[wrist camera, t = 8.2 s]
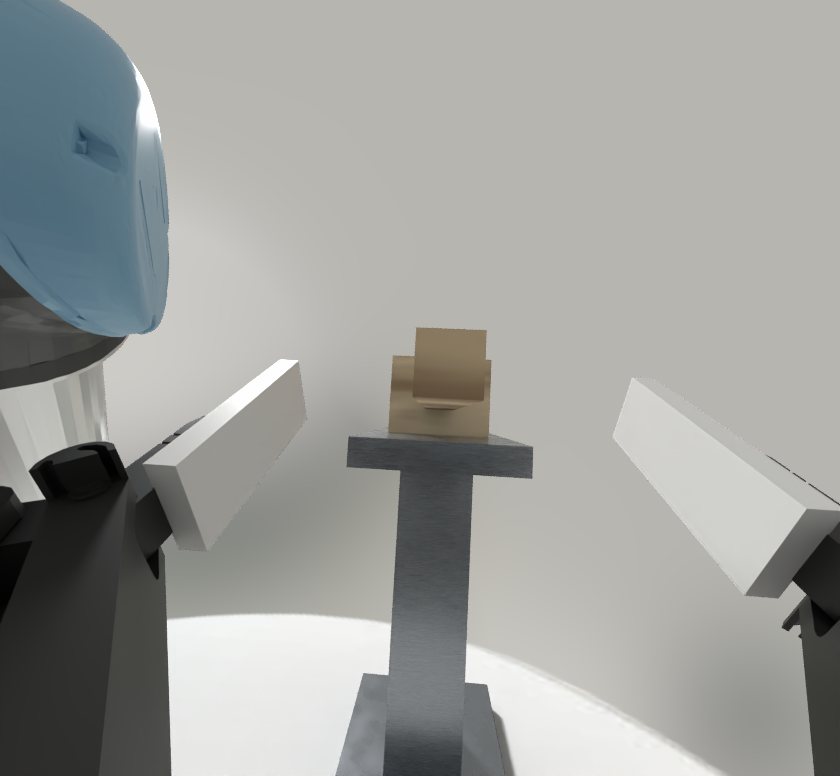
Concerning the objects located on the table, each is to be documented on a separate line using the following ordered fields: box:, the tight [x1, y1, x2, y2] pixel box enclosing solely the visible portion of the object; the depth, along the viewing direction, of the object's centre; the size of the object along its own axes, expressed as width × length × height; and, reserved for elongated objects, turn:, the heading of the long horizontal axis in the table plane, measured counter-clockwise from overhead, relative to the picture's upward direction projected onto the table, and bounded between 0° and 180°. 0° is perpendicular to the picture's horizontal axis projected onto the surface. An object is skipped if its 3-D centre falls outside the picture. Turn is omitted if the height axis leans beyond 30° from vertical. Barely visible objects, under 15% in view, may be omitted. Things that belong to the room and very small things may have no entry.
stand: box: [335, 427, 533, 776], centre depth 29 cm, size 18×14×30 cm
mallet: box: [388, 328, 491, 438], centre depth 25 cm, size 28×9×7 cm, turn 178°
